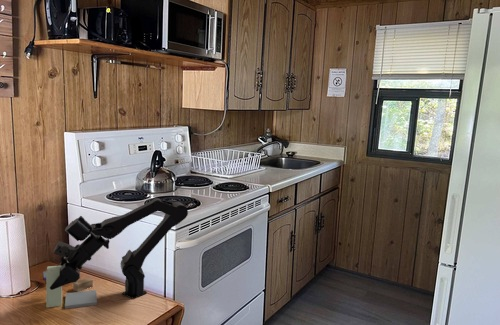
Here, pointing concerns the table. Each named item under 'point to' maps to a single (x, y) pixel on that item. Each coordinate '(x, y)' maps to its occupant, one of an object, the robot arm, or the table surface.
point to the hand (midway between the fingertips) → (51, 283)
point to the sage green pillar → (56, 294)
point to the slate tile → (81, 299)
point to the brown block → (82, 284)
